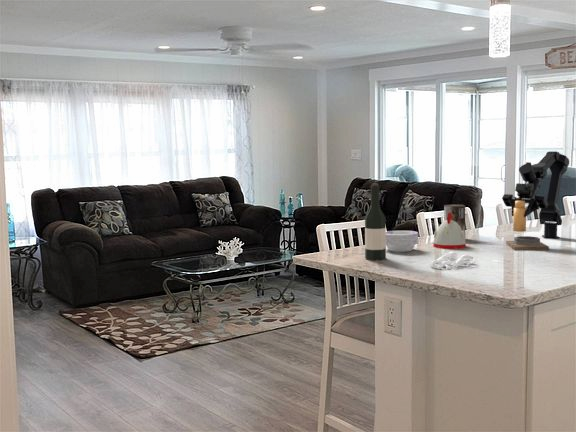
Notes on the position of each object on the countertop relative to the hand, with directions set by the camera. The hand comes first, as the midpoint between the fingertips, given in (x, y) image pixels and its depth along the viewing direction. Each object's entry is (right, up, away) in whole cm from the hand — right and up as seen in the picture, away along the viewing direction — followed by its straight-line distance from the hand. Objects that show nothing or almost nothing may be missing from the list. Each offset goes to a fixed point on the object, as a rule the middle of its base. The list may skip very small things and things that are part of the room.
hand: (518, 216), depth 290 cm
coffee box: (-21, -11, +27) cm, 36 cm away
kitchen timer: (-28, -14, +6) cm, 32 cm away
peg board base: (+4, -13, 0) cm, 14 cm away
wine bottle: (-64, -17, -21) cm, 70 cm away
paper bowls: (-51, -15, -2) cm, 53 cm away
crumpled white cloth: (-38, -19, -38) cm, 57 cm away
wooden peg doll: (+1, -6, +2) cm, 7 cm away
